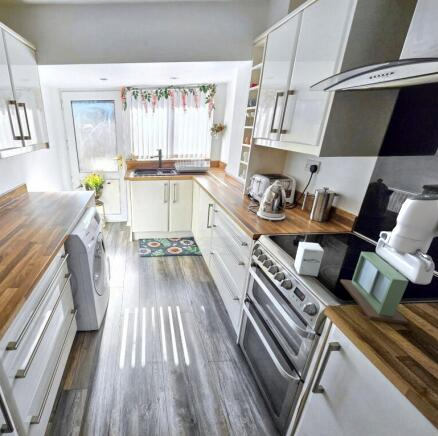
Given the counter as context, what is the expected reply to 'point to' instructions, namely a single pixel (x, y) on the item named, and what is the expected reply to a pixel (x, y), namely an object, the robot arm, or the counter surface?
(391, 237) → the robot arm
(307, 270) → the white packaging box
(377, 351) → the counter surface
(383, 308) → the window frame
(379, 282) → the sliding pane
